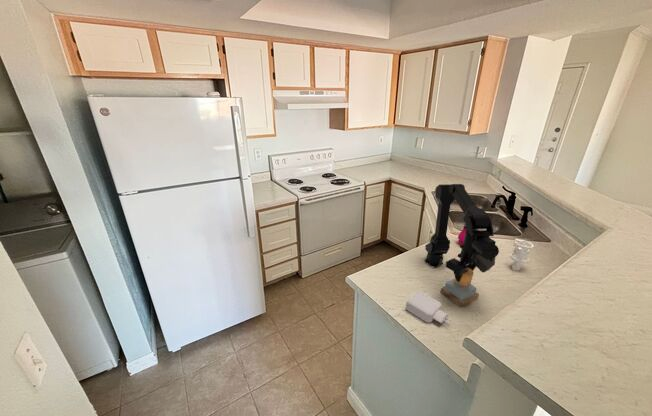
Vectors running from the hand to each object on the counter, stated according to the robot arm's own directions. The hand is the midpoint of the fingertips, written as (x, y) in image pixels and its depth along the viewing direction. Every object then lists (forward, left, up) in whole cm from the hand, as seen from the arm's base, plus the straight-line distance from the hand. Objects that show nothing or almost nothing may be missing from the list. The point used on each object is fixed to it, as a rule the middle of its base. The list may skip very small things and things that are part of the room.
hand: (462, 278), depth 105 cm
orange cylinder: (0, 0, -1) cm, 1 cm away
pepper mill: (-24, +40, -9) cm, 47 cm away
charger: (+1, -19, -9) cm, 21 cm away
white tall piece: (+2, +41, -9) cm, 42 cm away
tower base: (0, 0, -9) cm, 9 cm away
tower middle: (0, 0, -6) cm, 6 cm away
